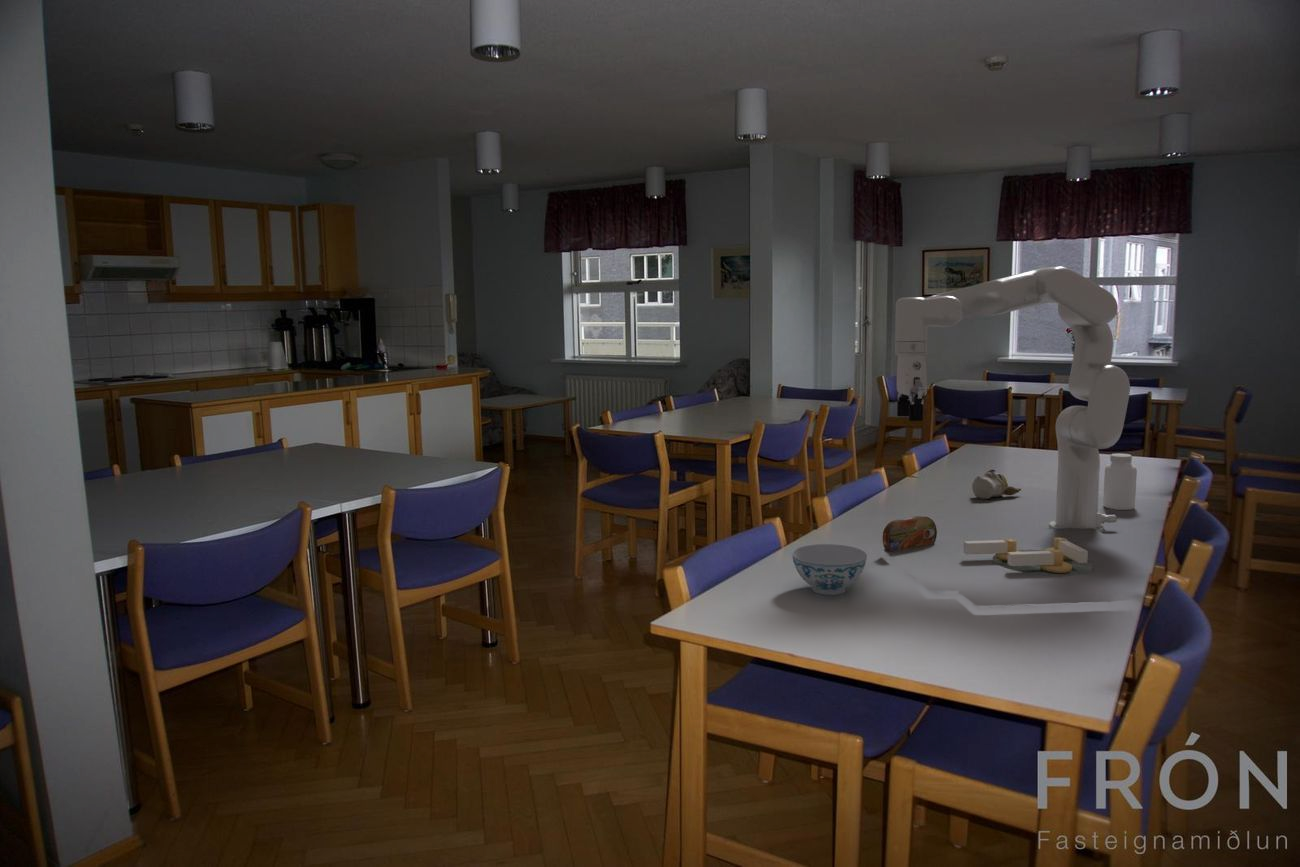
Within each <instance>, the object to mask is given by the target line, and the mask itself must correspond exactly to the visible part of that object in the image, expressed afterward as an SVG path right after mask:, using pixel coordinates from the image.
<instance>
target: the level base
mask: <svg viewBox="0 0 1300 867" xmlns="http://www.w3.org/2000/svg"><path fill="white" fill-rule="evenodd" d="M1017 550H1018V551H1021V552H1031V551H1045V550H1044V549H1043V550H1042V549H1017ZM992 560H993V562H994V564H996V565H998V566H1000V567H1002V568H1005V569H1009V570H1012V571H1014V572H1015V571H1016V572H1021V573H1024V574H1025V573H1026V574H1032V575H1040V576H1073V575H1075V576H1076V575H1080V574H1081V575H1082V574H1085V573H1087V572H1090V571H1092V569H1093V564H1092V563H1091V562H1090V561H1089V560H1087V563H1078V562H1076V561H1074V560H1072V559H1063V562H1067V563H1069V564H1071V565H1072V571H1071V572H1068V573H1053V572H1048V571H1044V570H1042V569H1041V565H1031V566H1010V565H1009V564H1008V561H1007V560H1001V559H998V558H996V557H995V554H994V555H993V556H992Z"/></svg>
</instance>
